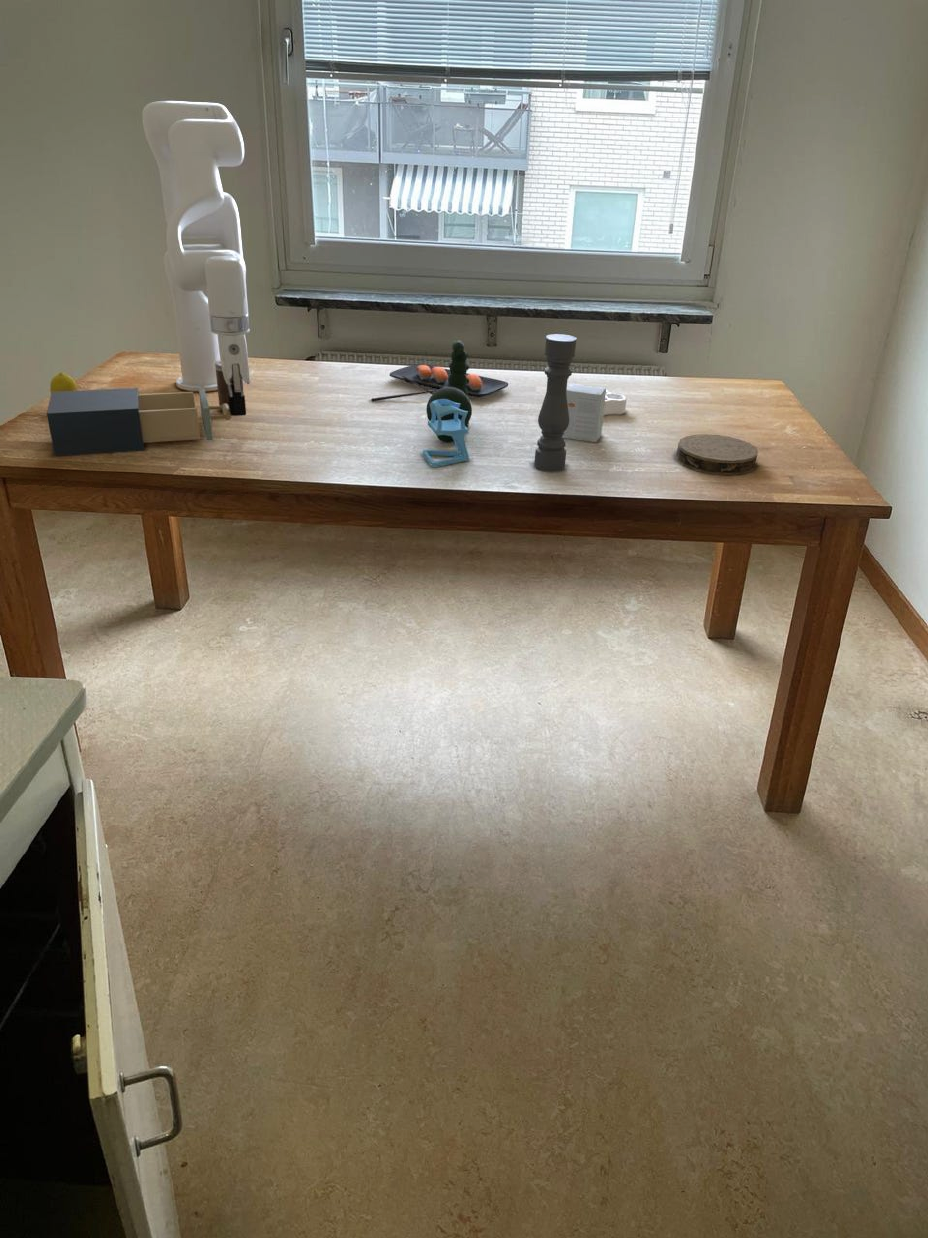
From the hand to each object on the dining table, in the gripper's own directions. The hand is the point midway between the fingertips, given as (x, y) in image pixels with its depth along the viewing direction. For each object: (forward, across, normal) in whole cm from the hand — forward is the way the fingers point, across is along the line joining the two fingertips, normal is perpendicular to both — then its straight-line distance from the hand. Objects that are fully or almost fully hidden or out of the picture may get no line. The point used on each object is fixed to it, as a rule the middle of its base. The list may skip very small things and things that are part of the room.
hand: (238, 414), depth 186 cm
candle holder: (+4, -32, -57) cm, 66 cm away
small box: (+4, -17, -71) cm, 73 cm away
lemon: (+4, +23, +35) cm, 42 cm away
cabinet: (+4, 0, +27) cm, 28 cm away
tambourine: (+4, -37, -92) cm, 100 cm away
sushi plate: (+4, +21, -48) cm, 52 cm away
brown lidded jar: (+4, +16, 0) cm, 16 cm away
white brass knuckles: (+4, +2, -81) cm, 81 cm away
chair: (+4, -25, -38) cm, 46 cm away
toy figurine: (+4, -9, -44) cm, 45 cm away
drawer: (+3, 0, +11) cm, 12 cm away
